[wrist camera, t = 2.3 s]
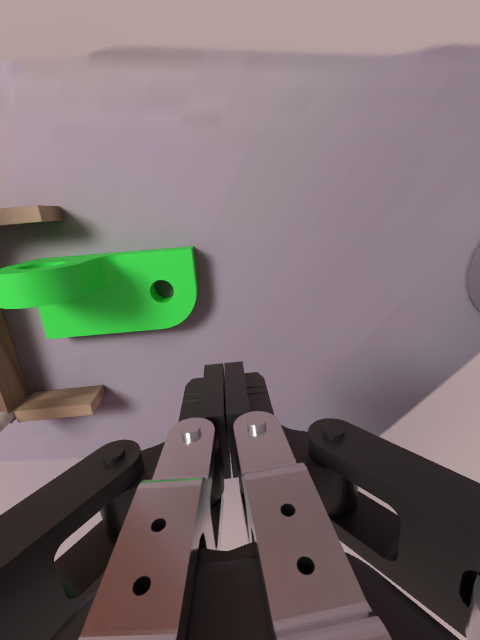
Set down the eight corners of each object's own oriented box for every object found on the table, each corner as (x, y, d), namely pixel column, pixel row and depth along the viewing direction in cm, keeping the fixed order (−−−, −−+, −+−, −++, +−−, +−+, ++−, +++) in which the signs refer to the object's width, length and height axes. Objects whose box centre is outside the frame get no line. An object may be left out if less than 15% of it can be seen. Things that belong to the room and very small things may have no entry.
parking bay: (59, 205, 24) (18, 202, 19) (106, 395, 29) (83, 431, 24) (-46, 214, 24) (-112, 214, 19) (20, 404, 29) (-20, 441, 24)
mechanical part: (59, 330, 27) (-4, 375, 20) (40, 258, 25) (-39, 277, 18) (202, 318, 27) (194, 357, 20) (193, 246, 26) (181, 259, 18)
